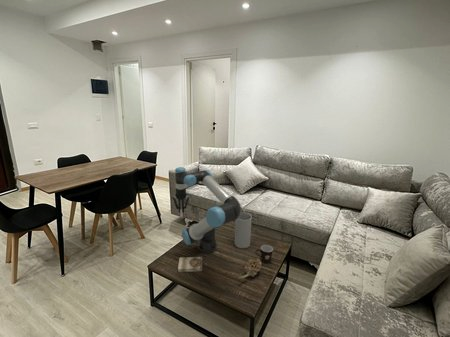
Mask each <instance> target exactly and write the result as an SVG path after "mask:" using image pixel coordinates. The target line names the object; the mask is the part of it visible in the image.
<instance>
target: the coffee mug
mask: <svg viewBox="0 0 450 337" xmlns="http://www.w3.org/2000/svg"><path fill="white" fill-rule="evenodd" d="M257 251H259V252H260V255H259V254H258V252H257ZM273 252H274V248H273V246H271V245H269V244H268V245H267V244H264V245H261V246H260V249H256V250H255V254H256V255H257V256H258V257H259V258H260V259H261V260H260V261H261V263H264V264H270V263H271V260H272V256H273Z"/></svg>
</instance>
